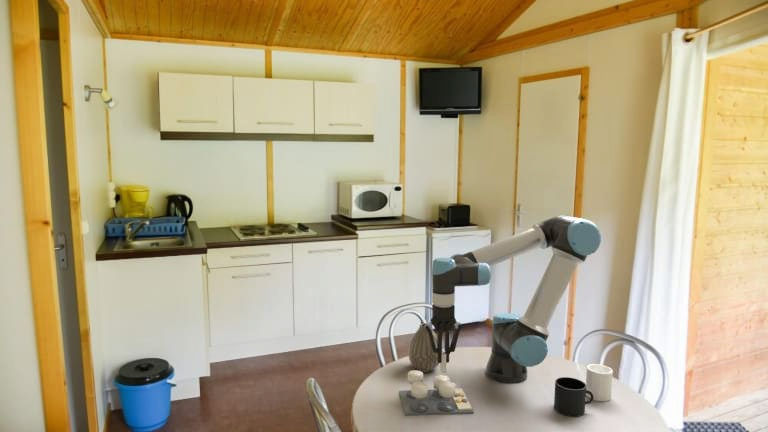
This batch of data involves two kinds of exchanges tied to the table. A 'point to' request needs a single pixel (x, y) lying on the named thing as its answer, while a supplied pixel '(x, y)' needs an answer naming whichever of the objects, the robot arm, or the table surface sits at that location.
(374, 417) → the table surface
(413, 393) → the button
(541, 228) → the robot arm
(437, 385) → the button
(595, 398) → the mug
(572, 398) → the mug
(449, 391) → the button
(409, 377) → the button
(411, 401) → the board
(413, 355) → the vase
